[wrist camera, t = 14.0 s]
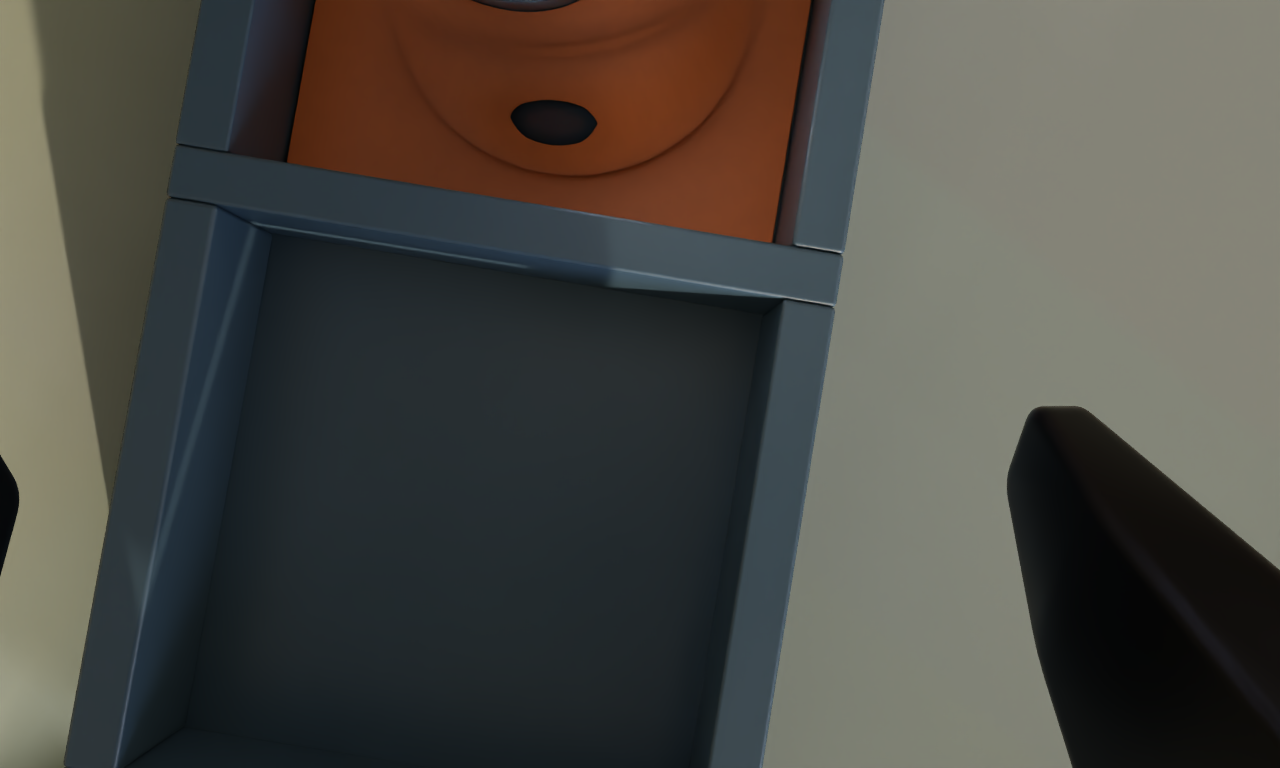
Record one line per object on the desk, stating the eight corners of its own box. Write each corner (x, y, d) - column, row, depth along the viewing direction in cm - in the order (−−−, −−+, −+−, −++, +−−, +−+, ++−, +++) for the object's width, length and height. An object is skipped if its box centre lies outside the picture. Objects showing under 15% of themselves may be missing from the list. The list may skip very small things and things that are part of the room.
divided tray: (718, 849, 18) (735, 936, 15) (147, 755, 18) (50, 823, 15) (890, -224, 19) (940, -349, 16) (339, -315, 19) (283, -458, 16)
